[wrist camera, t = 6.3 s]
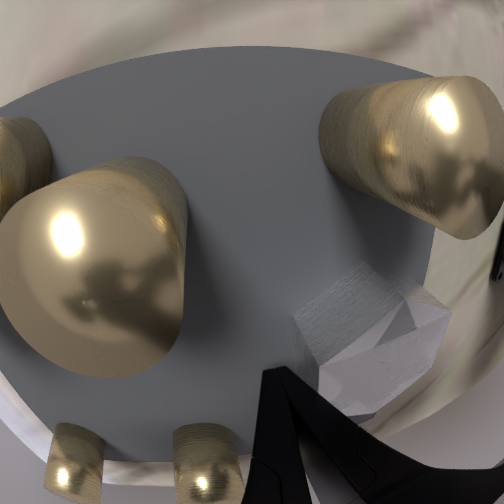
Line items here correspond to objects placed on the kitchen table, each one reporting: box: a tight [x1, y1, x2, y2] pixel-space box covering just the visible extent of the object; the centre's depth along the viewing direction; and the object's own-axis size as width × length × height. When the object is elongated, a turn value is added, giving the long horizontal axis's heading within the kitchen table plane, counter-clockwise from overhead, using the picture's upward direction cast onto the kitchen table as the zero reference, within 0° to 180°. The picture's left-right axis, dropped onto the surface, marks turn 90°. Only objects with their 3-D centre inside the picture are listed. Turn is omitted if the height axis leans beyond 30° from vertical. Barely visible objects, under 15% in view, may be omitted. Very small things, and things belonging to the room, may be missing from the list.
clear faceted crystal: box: [292, 260, 452, 416], centre depth 9 cm, size 6×5×2 cm
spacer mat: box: [0, 46, 435, 462], centre depth 9 cm, size 19×18×1 cm
